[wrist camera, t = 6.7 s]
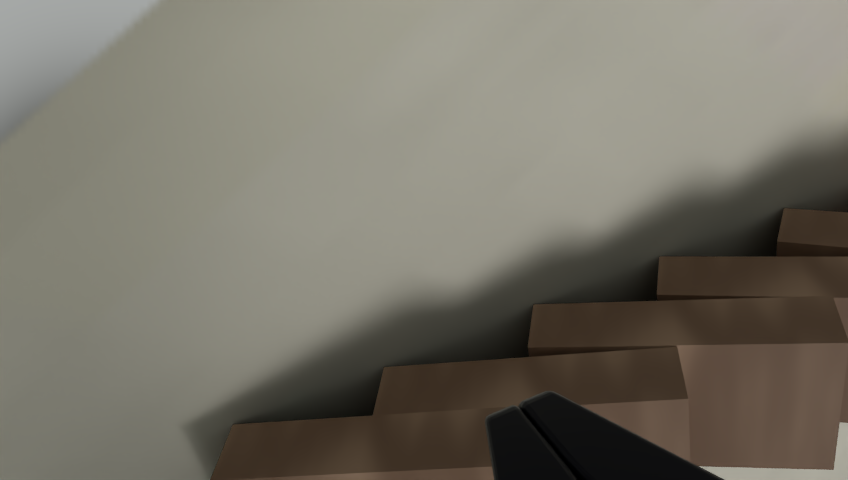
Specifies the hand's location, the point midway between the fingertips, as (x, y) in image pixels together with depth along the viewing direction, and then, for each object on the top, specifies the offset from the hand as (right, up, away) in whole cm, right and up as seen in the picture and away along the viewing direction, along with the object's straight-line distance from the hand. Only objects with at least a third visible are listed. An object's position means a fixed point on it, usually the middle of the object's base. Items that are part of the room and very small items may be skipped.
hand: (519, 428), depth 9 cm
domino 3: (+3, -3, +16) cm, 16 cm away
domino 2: (-2, -4, +15) cm, 16 cm away
